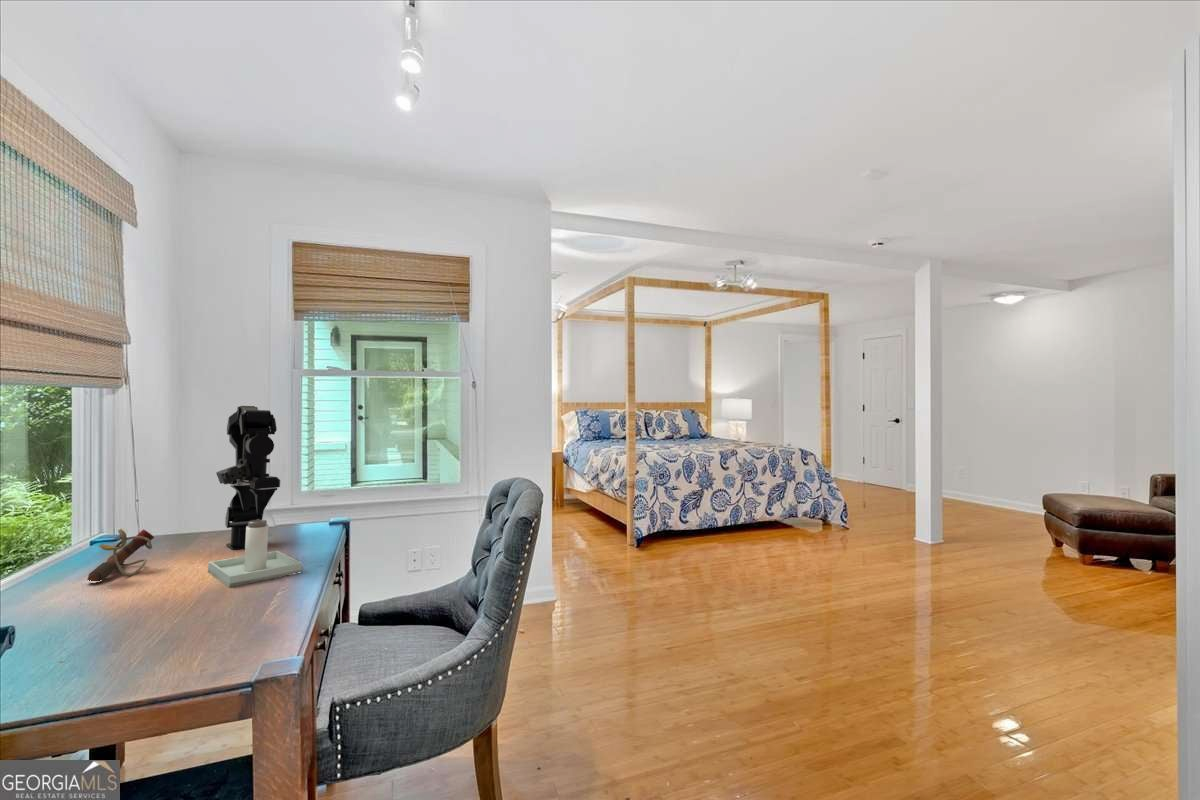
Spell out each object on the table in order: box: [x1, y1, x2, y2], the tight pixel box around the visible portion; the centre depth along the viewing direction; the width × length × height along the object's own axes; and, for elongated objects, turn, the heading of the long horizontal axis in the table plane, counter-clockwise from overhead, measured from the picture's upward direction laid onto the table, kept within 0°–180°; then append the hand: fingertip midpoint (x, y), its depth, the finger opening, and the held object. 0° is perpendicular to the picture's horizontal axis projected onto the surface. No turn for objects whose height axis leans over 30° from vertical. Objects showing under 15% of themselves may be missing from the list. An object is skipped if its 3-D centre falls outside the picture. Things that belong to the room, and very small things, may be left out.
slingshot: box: [86, 528, 155, 581], centre depth 131 cm, size 17×10×15 cm
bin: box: [207, 550, 303, 588], centre depth 138 cm, size 16×16×2 cm
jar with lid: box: [244, 519, 269, 572], centre depth 138 cm, size 5×5×12 cm
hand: (252, 512), depth 148 cm, fingers open, 9 cm apart
